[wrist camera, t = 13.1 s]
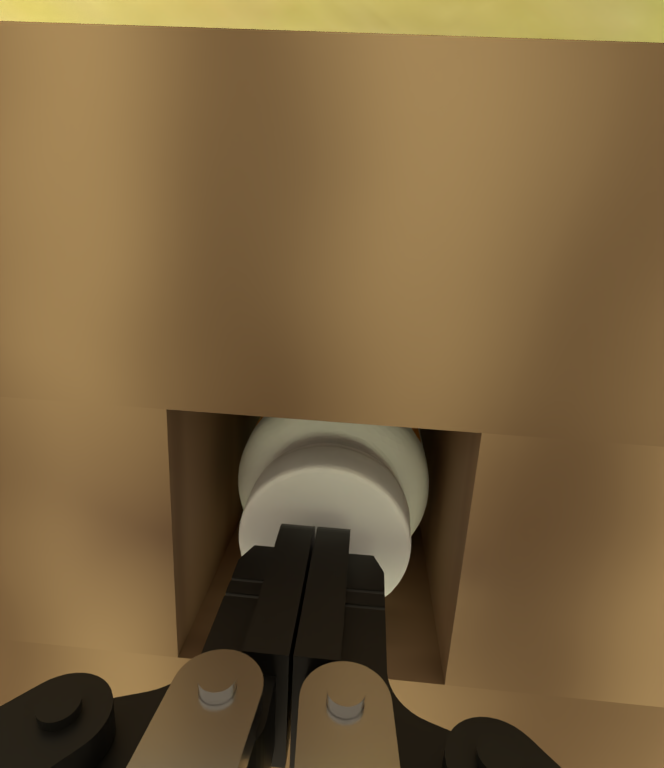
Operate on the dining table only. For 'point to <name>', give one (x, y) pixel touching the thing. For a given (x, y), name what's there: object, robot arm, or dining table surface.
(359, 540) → the supplement bottle
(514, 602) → the walnut block
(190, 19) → the dining table surface
